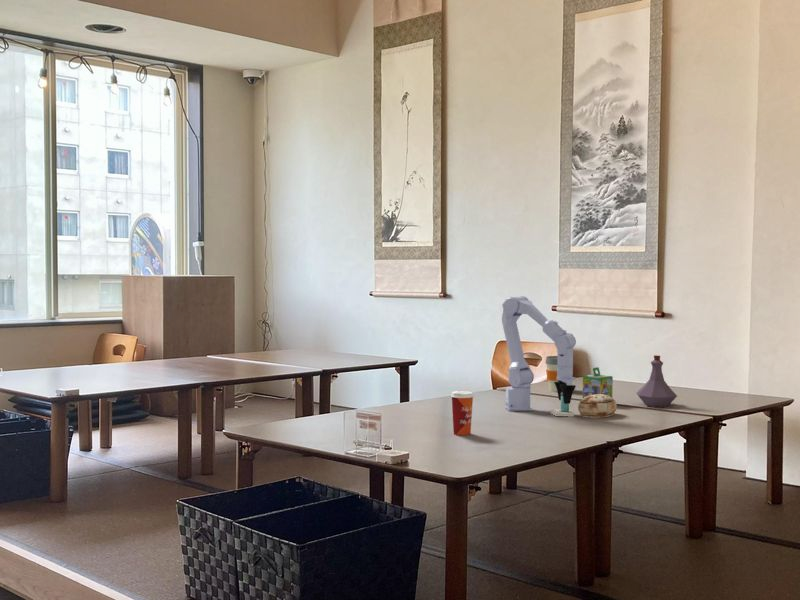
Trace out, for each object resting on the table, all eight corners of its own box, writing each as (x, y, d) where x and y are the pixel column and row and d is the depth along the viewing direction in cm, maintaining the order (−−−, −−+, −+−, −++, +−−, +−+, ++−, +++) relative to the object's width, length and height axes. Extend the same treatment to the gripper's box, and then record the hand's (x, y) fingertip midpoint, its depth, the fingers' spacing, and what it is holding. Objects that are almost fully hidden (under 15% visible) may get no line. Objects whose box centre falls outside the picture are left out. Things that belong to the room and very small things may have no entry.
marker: (561, 412, 344) (561, 393, 344) (559, 410, 347) (559, 392, 347) (569, 412, 344) (570, 393, 344) (567, 410, 347) (567, 392, 347)
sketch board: (555, 416, 341) (555, 413, 341) (550, 413, 349) (550, 409, 349) (573, 416, 342) (573, 413, 342) (568, 412, 350) (568, 409, 350)
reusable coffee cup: (579, 390, 411) (579, 357, 410) (563, 393, 402) (563, 359, 401) (555, 387, 419) (555, 355, 419) (539, 390, 410) (539, 357, 410)
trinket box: (618, 413, 350) (618, 393, 349) (612, 419, 336) (612, 398, 335) (582, 411, 354) (583, 391, 354) (575, 417, 340) (576, 396, 340)
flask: (627, 402, 375) (628, 354, 374) (663, 401, 380) (663, 353, 379) (649, 409, 359) (650, 358, 359) (685, 407, 364) (686, 357, 363)
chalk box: (601, 406, 365) (602, 369, 365) (581, 404, 372) (582, 367, 371) (613, 404, 372) (613, 367, 372) (593, 401, 378) (593, 366, 378)
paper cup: (466, 437, 301) (467, 394, 301) (446, 434, 305) (446, 392, 305) (477, 433, 308) (478, 391, 307) (457, 430, 312) (457, 390, 311)
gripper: (580, 368, 338) (580, 404, 339) (570, 363, 352) (569, 398, 353) (561, 368, 337) (561, 404, 338) (552, 363, 352) (551, 398, 352)
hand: (564, 401), depth 345 cm, fingers open, 7 cm apart
